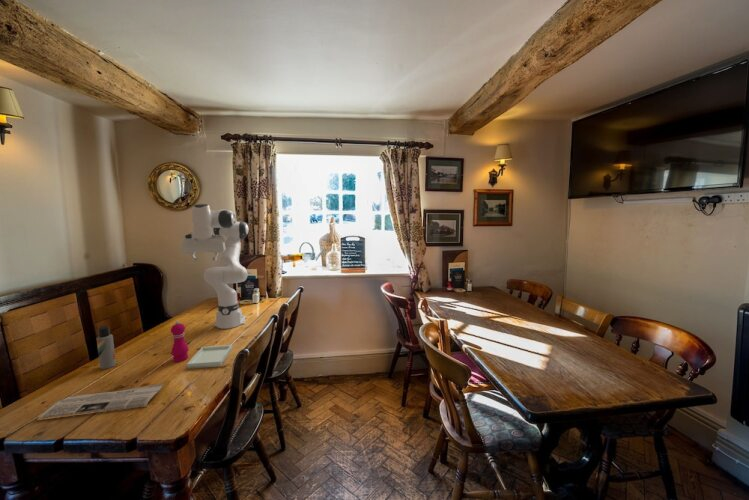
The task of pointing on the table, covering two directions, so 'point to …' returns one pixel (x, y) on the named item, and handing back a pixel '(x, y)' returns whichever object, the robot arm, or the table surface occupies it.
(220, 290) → the robot arm
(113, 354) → the lotion bottle
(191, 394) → the table surface
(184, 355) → the pepper mill
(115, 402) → the newspaper
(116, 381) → the table surface
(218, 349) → the tray
